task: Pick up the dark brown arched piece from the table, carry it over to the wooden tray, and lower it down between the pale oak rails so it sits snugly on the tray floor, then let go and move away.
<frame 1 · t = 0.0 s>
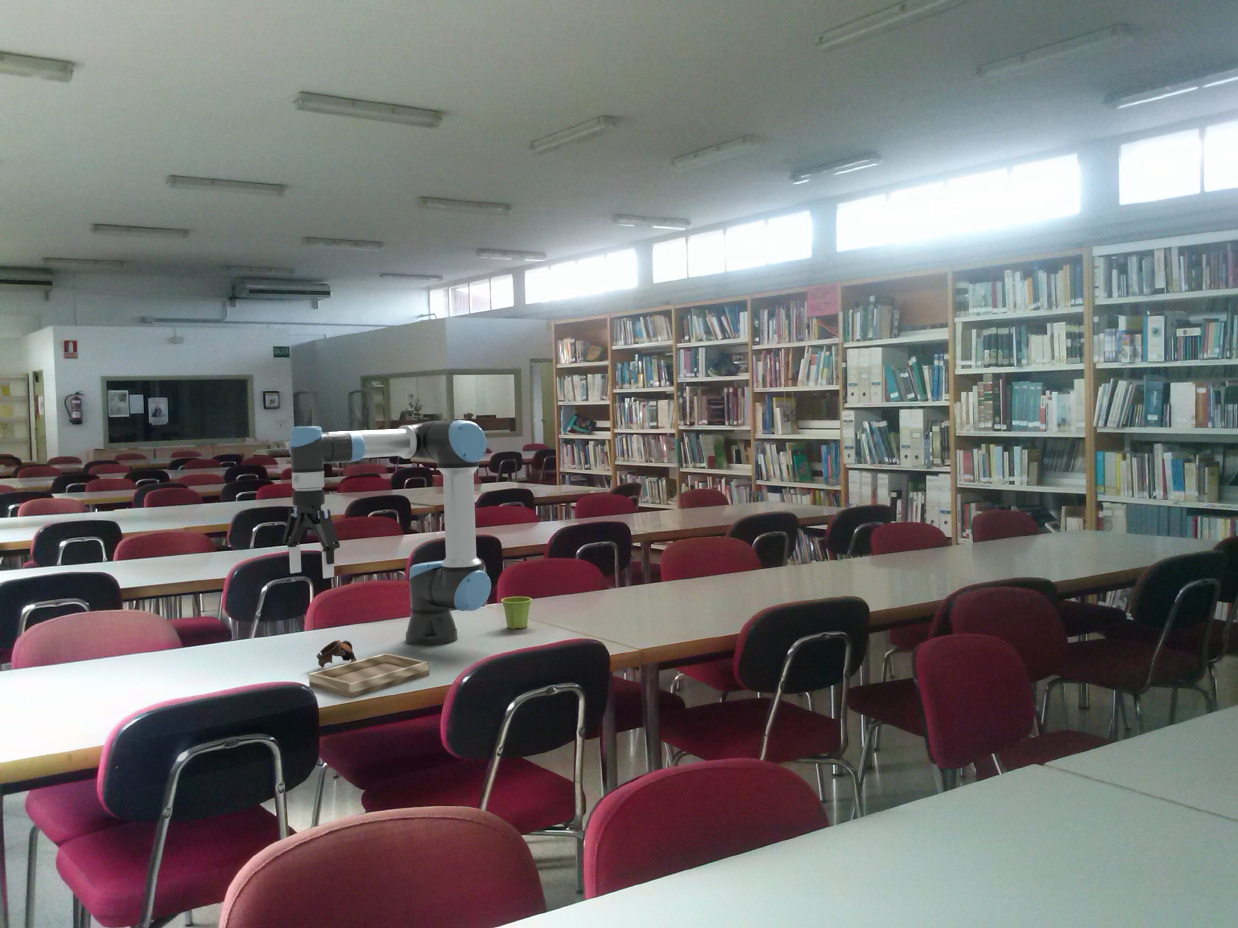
hand: (311, 575, 242), 28 cm above the table, tool pointing down, fingers open, 13 cm apart
plant pot: (517, 627, 305), on the table
wooden tray: (370, 680, 249), on the table
dark brown arched piece: (340, 667, 263), on the table
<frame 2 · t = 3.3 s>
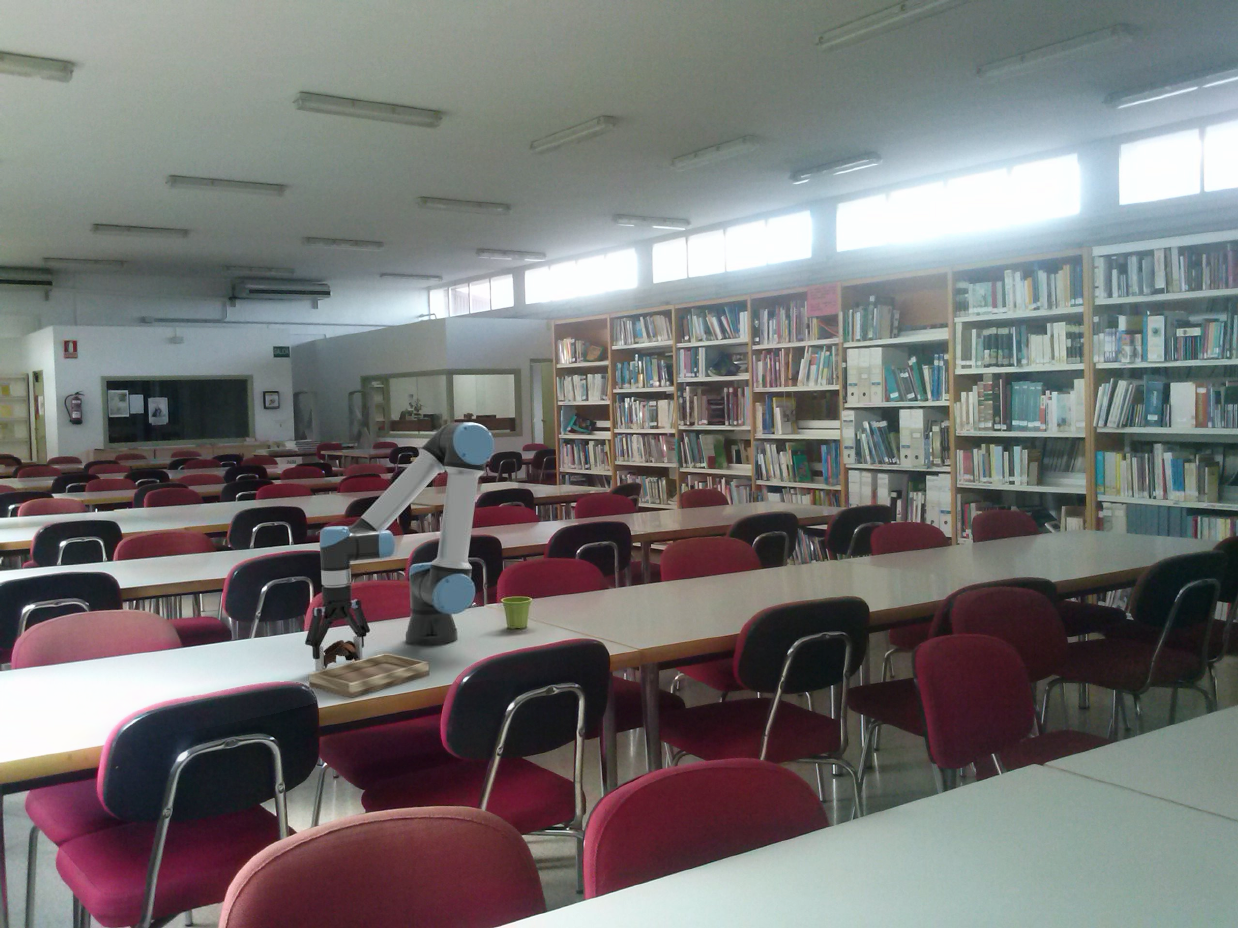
hand: (339, 665, 263), 0 cm above the table, tool pointing down, fingers closed on dark brown arched piece, 12 cm apart
dark brown arched piece: (343, 667, 262), on the table, touching gripper
everything else where it was.
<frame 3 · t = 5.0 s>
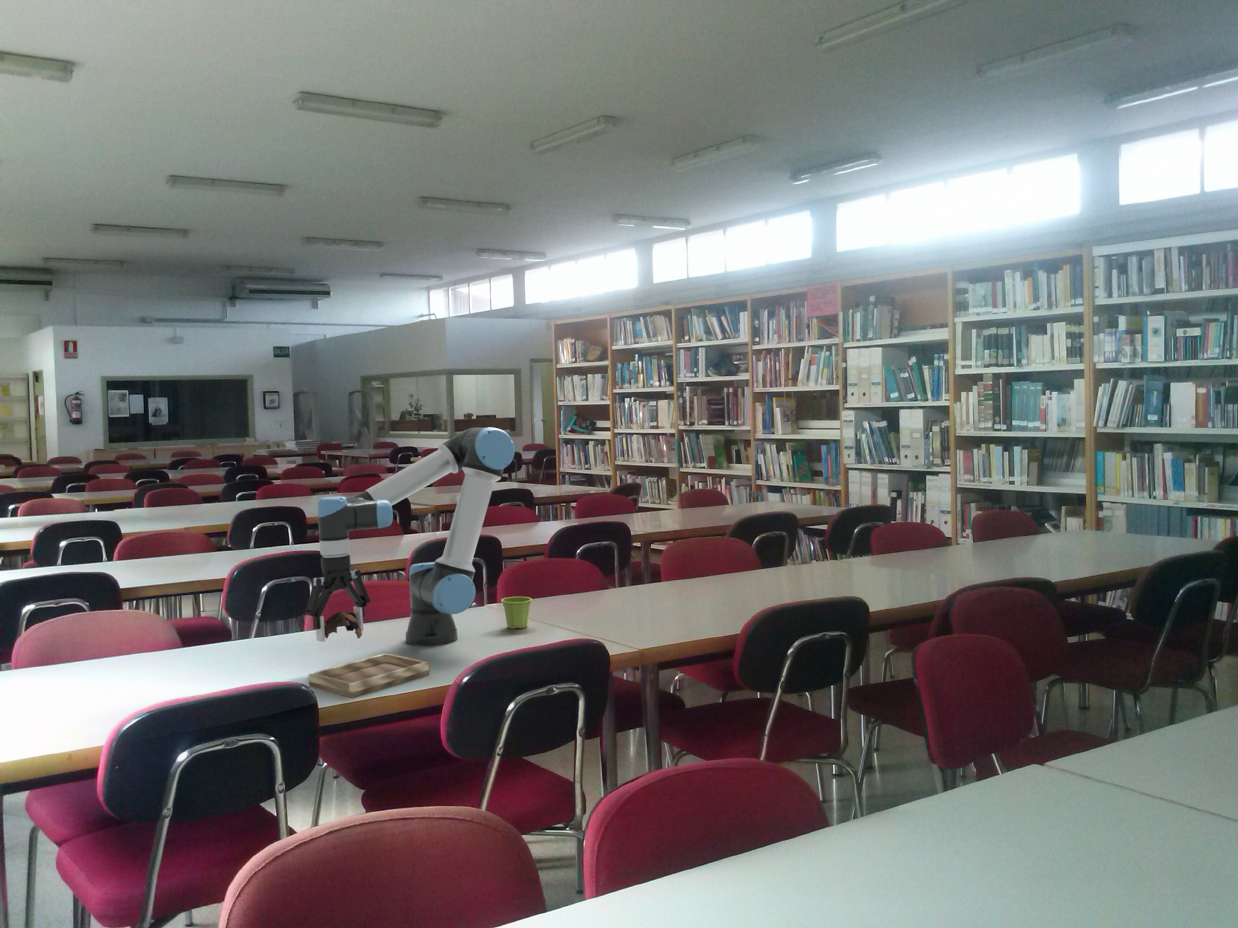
hand: (340, 635, 263), 8 cm above the table, tool pointing down, fingers closed on dark brown arched piece, 11 cm apart
dark brown arched piece: (344, 637, 262), point 8 cm above the table, touching gripper
everything else where it was.
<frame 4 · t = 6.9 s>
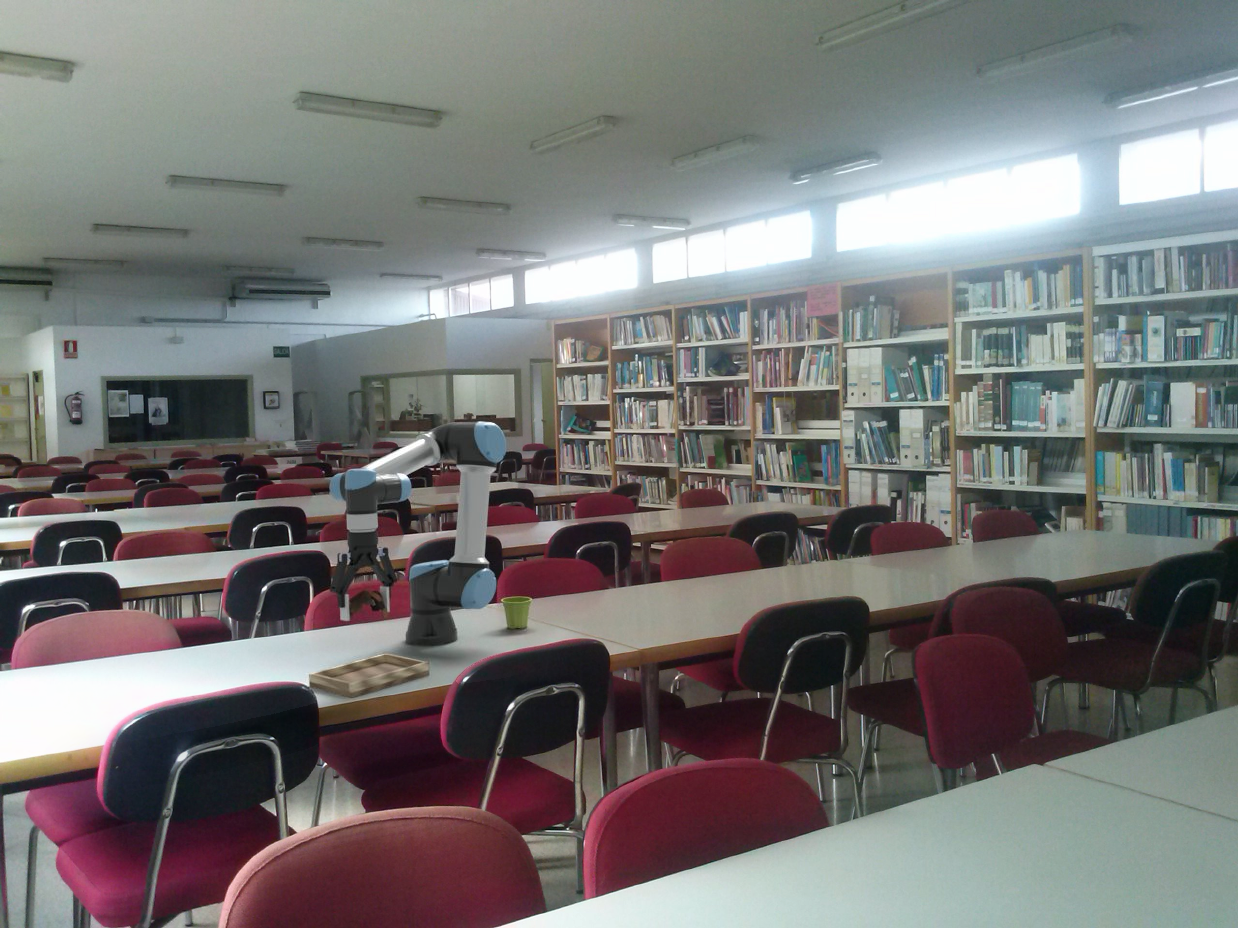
hand: (365, 615, 248), 16 cm above the table, tool pointing down, fingers closed on dark brown arched piece, 11 cm apart
dark brown arched piece: (369, 618, 248), point 16 cm above the table, touching gripper
everything else where it was.
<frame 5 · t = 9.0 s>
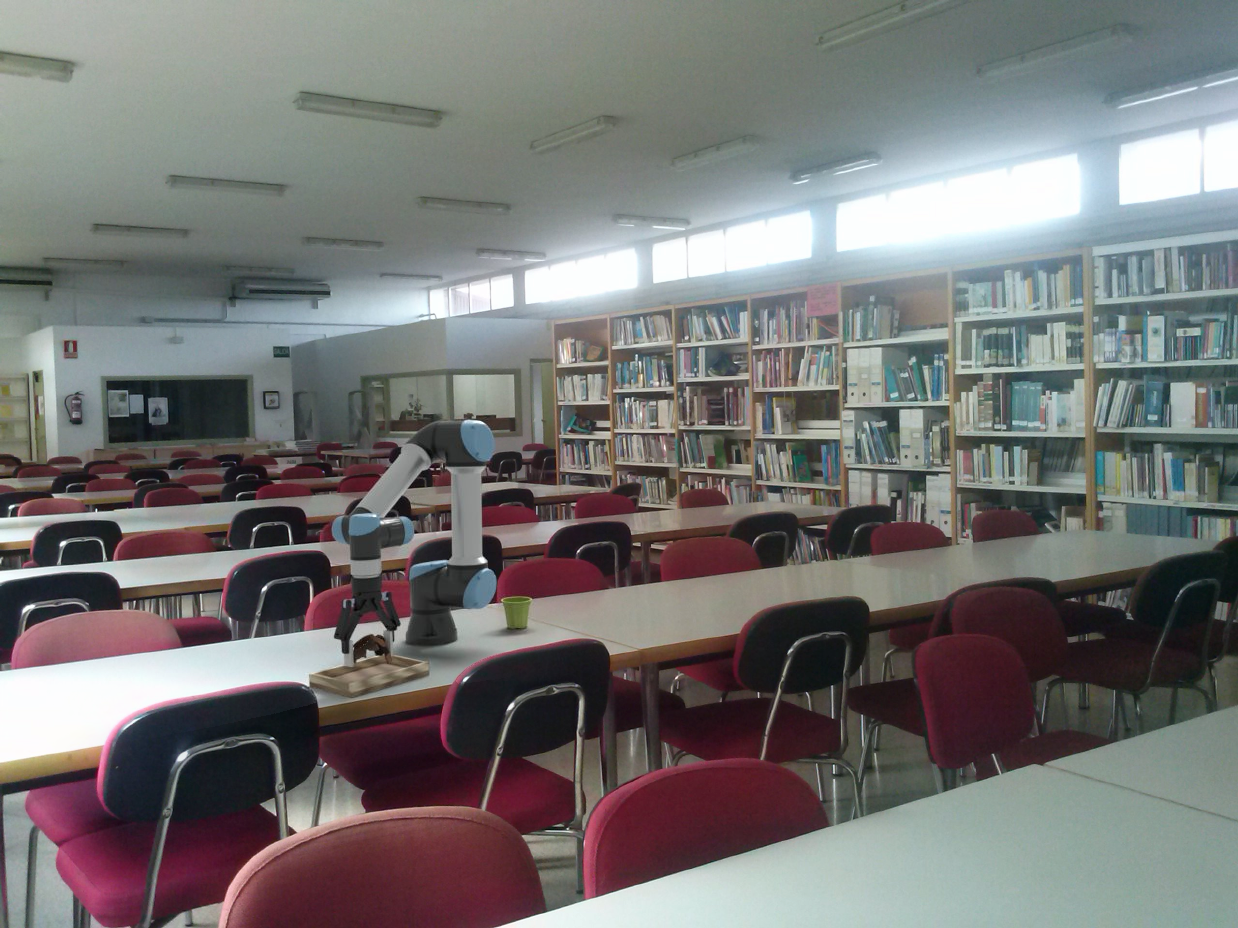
hand: (369, 660, 248), 5 cm above the table, tool pointing down, fingers closed on dark brown arched piece, 11 cm apart
dark brown arched piece: (373, 663, 248), point 4 cm above the table, touching gripper
everything else where it was.
when the fingers open (3 cm above the table, at t = 10.6 s): dark brown arched piece drops 1 cm, resting on wooden tray.
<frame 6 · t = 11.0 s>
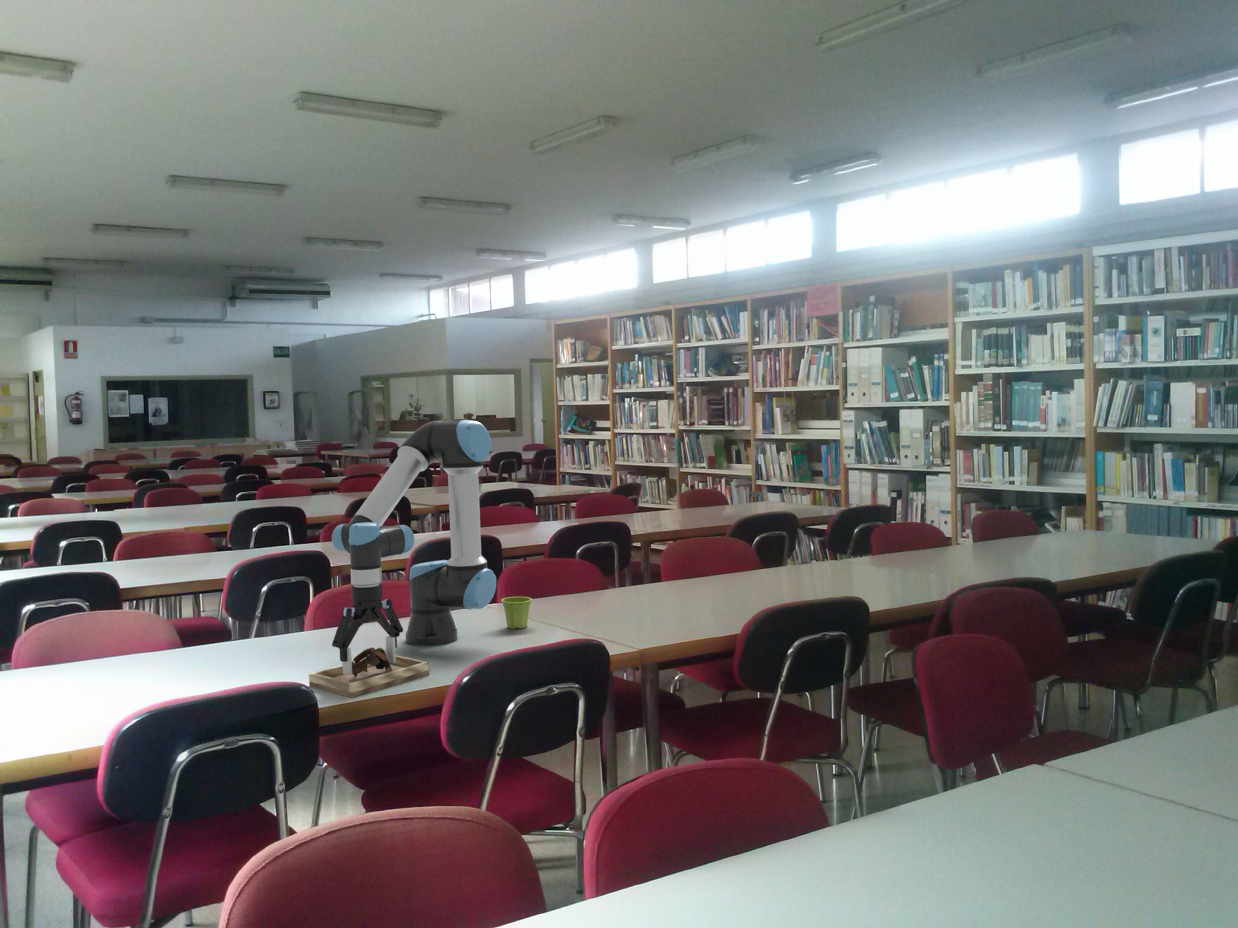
hand: (369, 667, 248), 3 cm above the table, tool pointing down, fingers open, 13 cm apart
dark brown arched piece: (374, 676, 248), point 1 cm above the table, touching wooden tray
everything else where it was.
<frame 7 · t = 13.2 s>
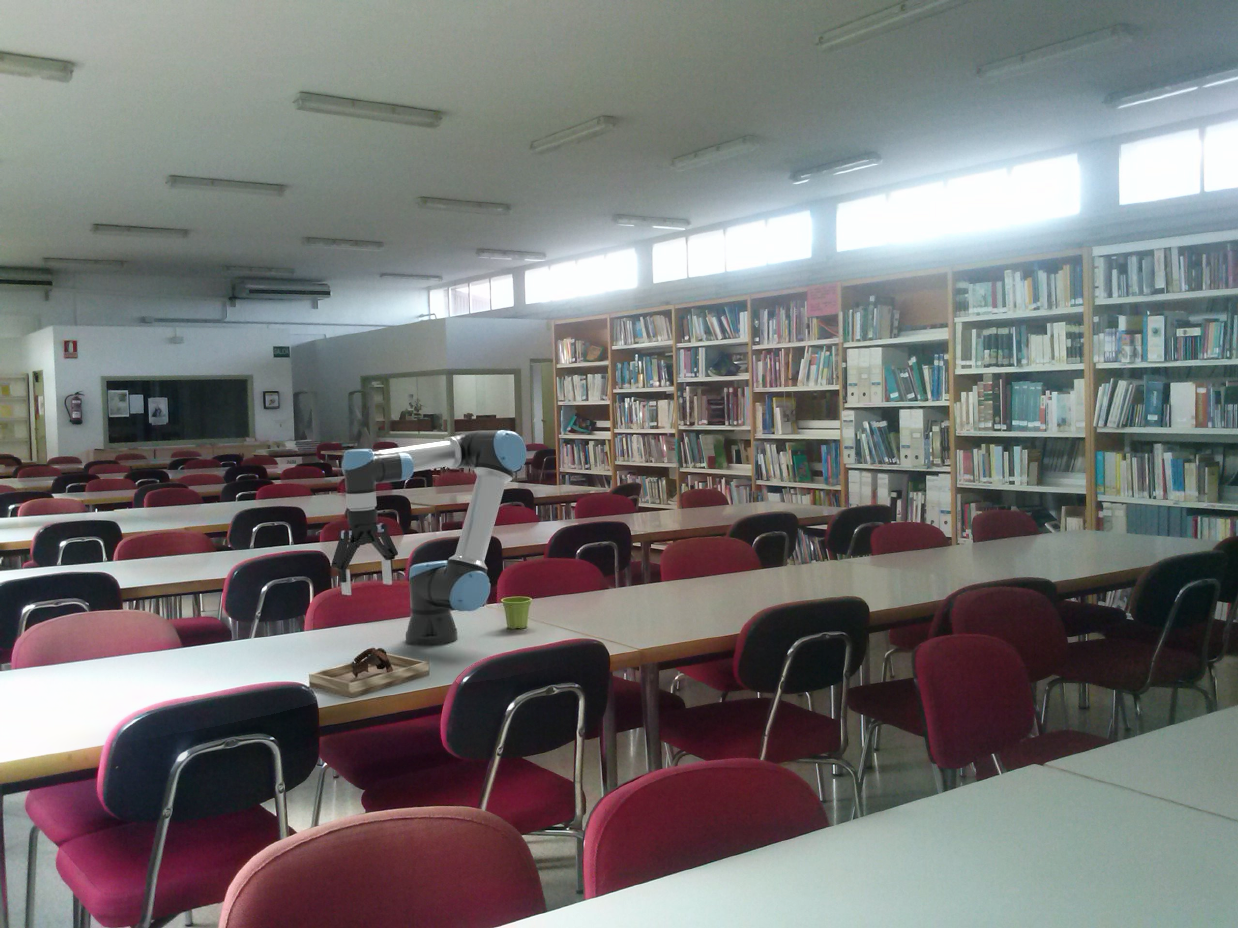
hand: (367, 589, 257), 21 cm above the table, tool pointing down, fingers open, 13 cm apart
nothing on the table moved.
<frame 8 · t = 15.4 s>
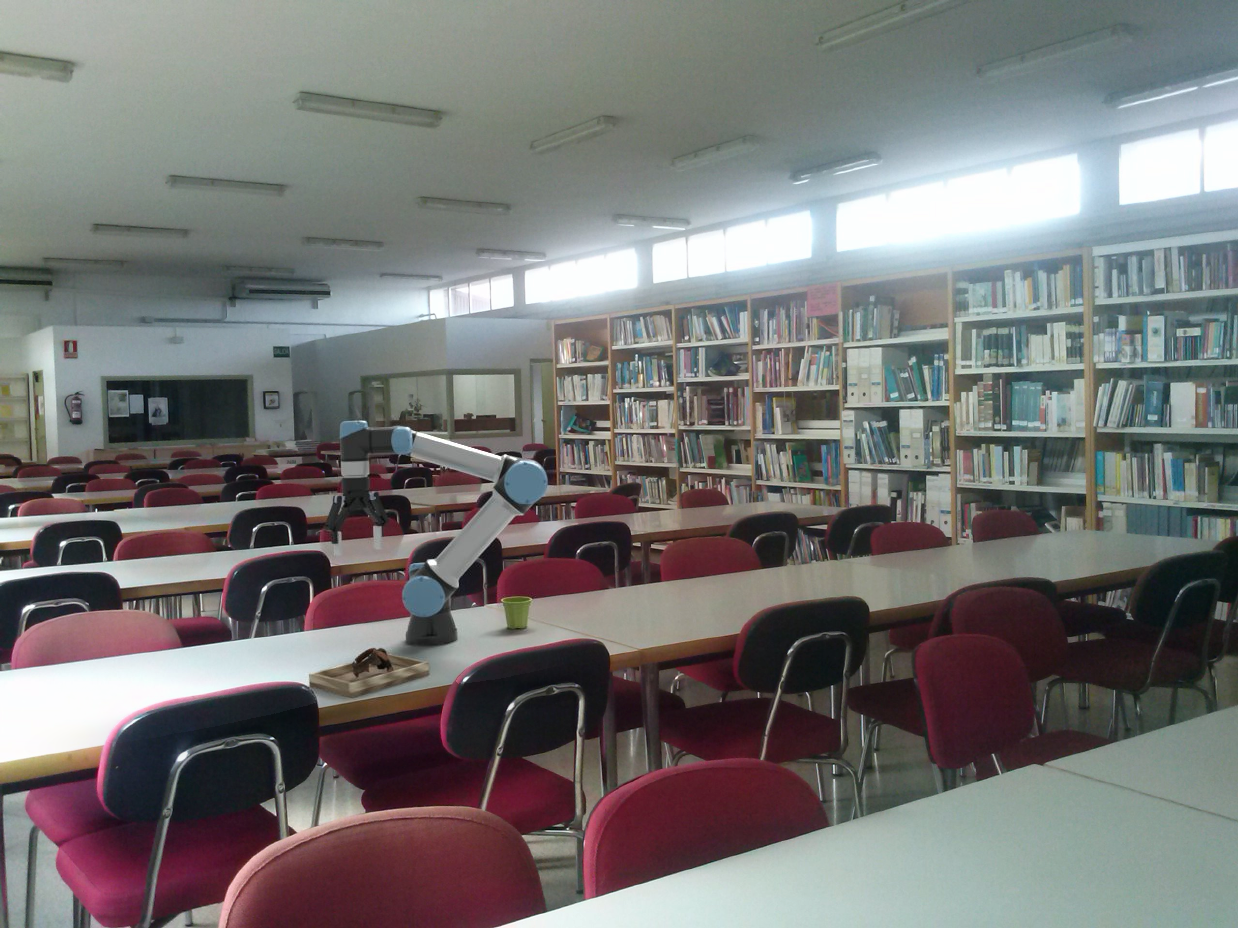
hand: (358, 552, 274), 29 cm above the table, tool pointing down, fingers open, 13 cm apart
nothing on the table moved.
at the end: dark brown arched piece 1.6 cm off-centre on the wooden tray, point 1.0 cm above the wooden tray's base; dark brown arched piece tilted 1°; the gripper is holding nothing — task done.
